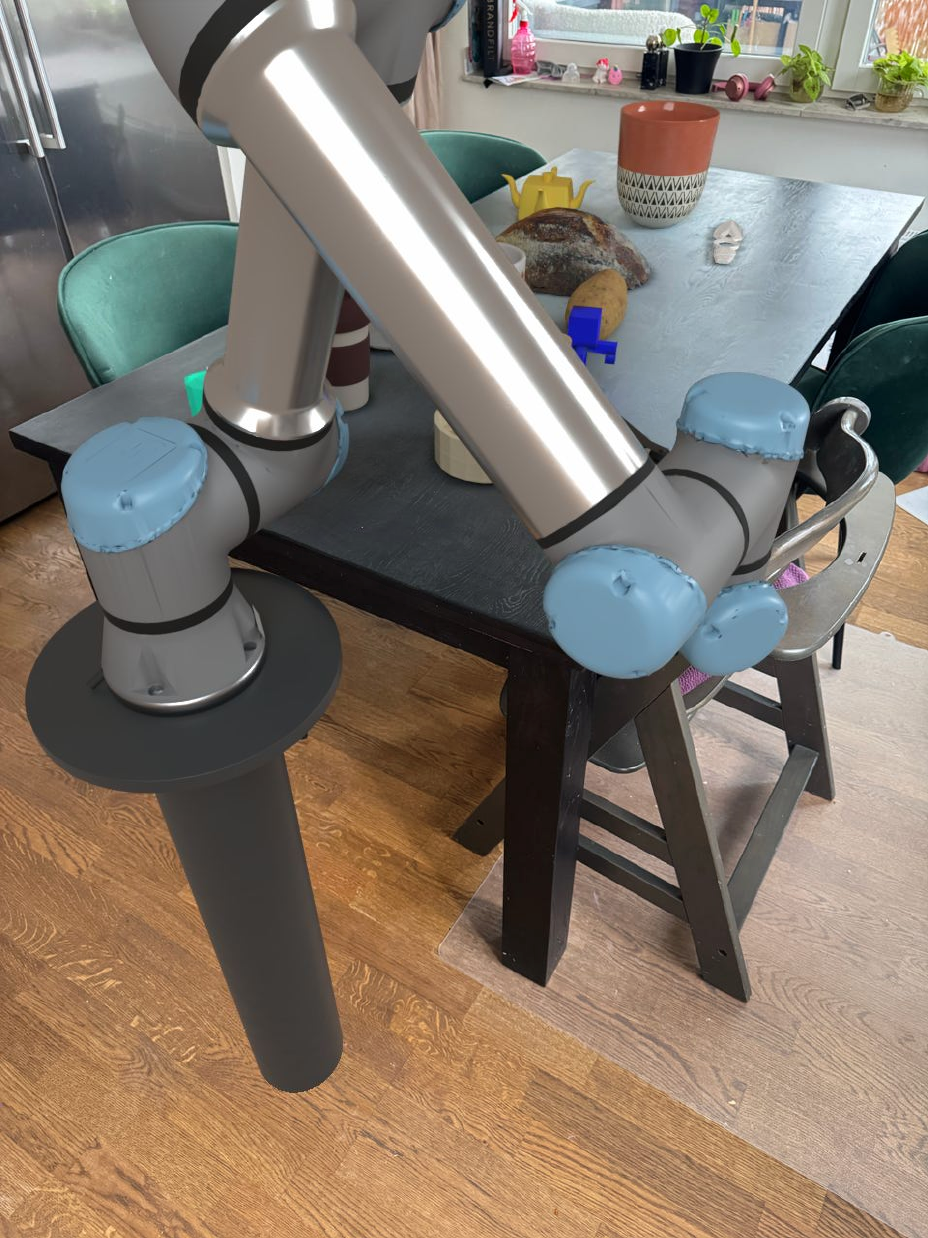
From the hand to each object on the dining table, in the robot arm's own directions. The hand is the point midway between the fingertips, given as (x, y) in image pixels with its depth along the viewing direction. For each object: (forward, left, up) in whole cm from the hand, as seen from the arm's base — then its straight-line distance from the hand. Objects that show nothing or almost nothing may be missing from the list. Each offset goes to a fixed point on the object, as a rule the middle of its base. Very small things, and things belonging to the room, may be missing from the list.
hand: (525, 390), depth 85 cm
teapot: (+82, +85, -19) cm, 120 cm away
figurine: (+31, +22, -19) cm, 42 cm away
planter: (+99, +69, -19) cm, 122 cm away
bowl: (+9, +16, -19) cm, 26 cm away
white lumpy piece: (+102, +52, -19) cm, 116 cm away
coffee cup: (+3, +41, -19) cm, 45 cm away
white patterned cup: (+33, +47, -19) cm, 61 cm away
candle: (-17, +38, -19) cm, 46 cm away
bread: (+65, +61, -19) cm, 91 cm away
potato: (+47, +35, -19) cm, 62 cm away
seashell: (+18, +55, -19) cm, 61 cm away
